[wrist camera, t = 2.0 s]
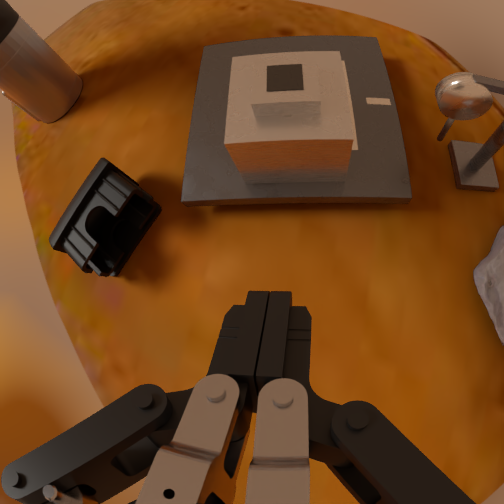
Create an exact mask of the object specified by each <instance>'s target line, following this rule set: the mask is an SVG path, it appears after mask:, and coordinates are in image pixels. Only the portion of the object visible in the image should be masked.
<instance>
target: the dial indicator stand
mask: <svg viewBox="0 0 504 504" xmlns="http://www.w3.org/2000/svg"><path fill="white" fill-rule="evenodd" d="M490 91H491V92H495V93H499V94H503V95H504V81H500V80H496V79H492V78H488V77H483V76H479V75H477V74H474V73H469V72H459V73H454V74H451V75H449V76H447V77H445V78H444V79H442V80H441V81H440V82H439V83H438V85H437V86H436V89H435V96H436V99H437V102H438V105H439V109H440V111H441V112H442V114H443V115H445V116H446V117H448V120H447V121H446V123H445V125H444V127H443V128H442V130H441V132H440V133H439V135H438V137H437V140H438V141H442V139H443V138H444V136H445V135H446V133H447V131H448V130H449V128H450V127H451V125H452V123H453V122H454V120H470V119H474V118H477V117H479V116H482V115H483V114H485V113H486V112H487V111H488V110H489V109H490V108H491V106H492V102H493V99H492V96H491V93H490ZM503 145H504V121H503V122H502V123H501V124H500V126H499V127H498V128H497V129H496V130H495V132H494V133H493V134H492V135H491V136H490V138H489V139H488V140H487V141H486V142H485V144H479V143H472V142H464V141H455V140H451V142H450V143H449V145H448V148H449V152H450V157H451V162H452V166H453V171H454V176H455V182H456V187H457V189H466V190H480V191H492V192H494V191H496V190H497V189H498V188H499V184H498V179H497V175H496V171H495V167H494V162H493V159H492V156H493V155H494V154H495V153H496V152H497V151H498V150H499V149H500V148H501V147H502V146H503Z"/></svg>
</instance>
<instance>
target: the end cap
mask: <svg viewBox="0 0 504 504" xmlns="http://www.w3.org/2000/svg"><path fill="white" fill-rule="evenodd" d="M138 186H139V184H138V183H137V182H135V181H134V180H133V179H131V178H130V177H129V176H128V175H126V174H125V173H124V172H122V171H121V170H120V169H118V168H117V167H116V166H115V165H113V164H112V163H111V162H109V161H108V160H107V159H105V158H101V159H100V160H99V161H98V163H97V164H96V165H95V167H94V168H93V170H92V171H91V172H90V174H89V175H88V177H87V178H86V180H85V181H84V183H83V184H82V186H81V187H80V189H79V190H78V192H77V193H76V195H75V196H74V198H73V199H72V201H71V202H70V204H69V205H68V207H67V209H66V210H65V212H64V213H63V215H62V217H61V218H60V220H59V222H58V223H57V225H56V227H55V228H54V230H53V232H52V234H51V235H50V237H49V242H50V245H51V246H52V248H53V249H54V250H57V251H60V252H64V253H67V254H68V255H69V256H70V257H71V258H72V259H73V261H74V262H75V263H76V264H77V265H78V266H79V267H80V269H81V270H82V271H84V272H85V273H92V271H93V270H94V271H95V272H96V273H97V274H98V275H99V276H105V277H107V276H109V275H111V276H117V275H118V274H119V272H120V271H121V269H122V268H123V266H124V265H125V263H126V262H127V260H128V259H129V257H130V256H131V254H132V253H133V251H134V250H135V248H136V247H137V245H138V244H139V242H140V241H141V239H142V238H143V237H144V235H145V234H146V232H147V231H148V229H149V228H150V227H151V225H152V224H153V222H154V221H155V219H156V218H157V217H158V215H159V214H160V212H161V206H160V205H159V204H157V203H156V202H155V201H153V197H152V196H150V195H149V194H148V193H146V192H145V191H144V190H142V189H141V188H140V187H138Z"/></svg>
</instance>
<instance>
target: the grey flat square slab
mask: <svg viewBox="0 0 504 504" xmlns="http://www.w3.org/2000/svg"><path fill="white" fill-rule="evenodd" d="M304 51H340V56H341V61H342V66H343V72H344V77H345V83H346V89H347V95H348V102H349V108H350V115H351V123H352V130H353V138H354V140H353V145H352V151H351V156H350V161H349V166H348V171H347V175H346V180H345V182H297V183H261V184H245V182H244V180H243V178H242V177H241V175H240V173H239V171H238V169H237V167H236V165H235V163H234V161H233V160H232V158H231V156H230V154H229V152H228V150H227V148H226V147H225V145H224V139H225V127H226V116H227V105H228V95H229V84H230V75H231V65H232V57H238V56H247V55H256V54H268V53H282V52H304ZM411 199H412V193H411V185H410V178H409V171H408V165H407V159H406V153H405V147H404V142H403V137H402V132H401V127H400V122H399V117H398V113H397V109H396V104H395V100H394V96H393V92H392V88H391V84H390V80H389V77H388V73H387V70H386V66H385V63H384V59H383V56H382V53H381V49H380V46H379V43H378V40H377V38H376V37H360V36H292V37H275V38H263V39H253V40H244V41H236V42H228V43H221V44H215V45H209V46H204V49H203V54H202V60H201V65H200V70H199V76H198V82H197V88H196V94H195V100H194V106H193V112H192V119H191V125H190V132H189V139H188V147H187V154H186V162H185V170H184V179H183V188H182V197H181V202H182V203H183V204H184V205H186V206H187V207H193V206H215V205H241V204H279V203H395V204H408V203H409V201H410V200H411Z"/></svg>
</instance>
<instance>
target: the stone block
mask: <svg viewBox="0 0 504 504" xmlns="http://www.w3.org/2000/svg"><path fill="white" fill-rule="evenodd" d="M473 273H474V281H475V285H476V287H477V290H478V293H479V295H480V296H481V298H482V300H483V303H484V304H485V306H486V308H487V310H488V314H489V315H490V317H491V319H492V321H493V323H494V325H495V329H496V331H497V333H498V336H499V338H500V340H501V342H502V344H503V345H504V225H503V226H502V227H501V228H500V229H499V231H498V233H497V236H496V238H495V240H494V243H493V245H492V247H491V251H490V253H489V254H488V256H486V257H485V258H484V259H483V260H482V261H481V262H480V263H479V264H478V266H477V267H476V268H475V269H474V271H473Z"/></svg>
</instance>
